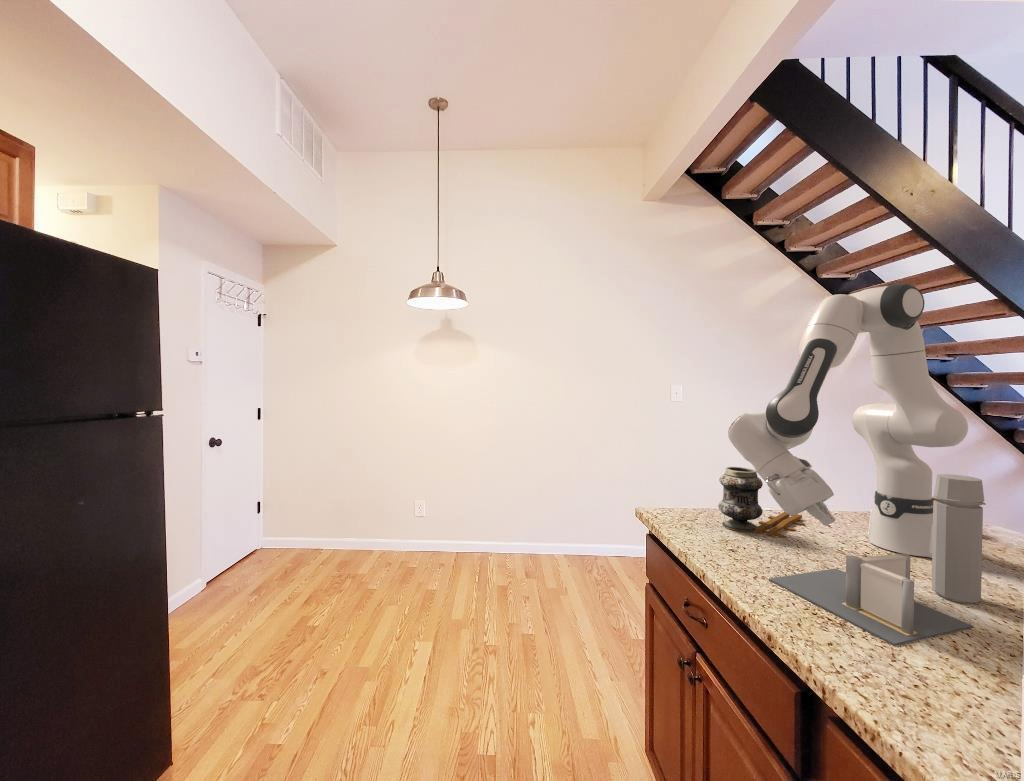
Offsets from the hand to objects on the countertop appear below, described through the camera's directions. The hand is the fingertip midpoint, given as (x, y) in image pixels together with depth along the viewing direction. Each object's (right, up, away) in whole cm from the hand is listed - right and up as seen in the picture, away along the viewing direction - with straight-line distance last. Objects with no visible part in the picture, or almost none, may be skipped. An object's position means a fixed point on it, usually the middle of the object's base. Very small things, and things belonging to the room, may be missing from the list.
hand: (830, 523), depth 96 cm
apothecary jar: (-1, -13, +37) cm, 39 cm away
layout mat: (0, -13, -8) cm, 16 cm away
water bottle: (+22, -14, -6) cm, 26 cm away
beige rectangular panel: (+4, -13, -10) cm, 16 cm away
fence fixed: (-2, -13, -15) cm, 20 cm away
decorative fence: (+12, -13, +38) cm, 42 cm away
